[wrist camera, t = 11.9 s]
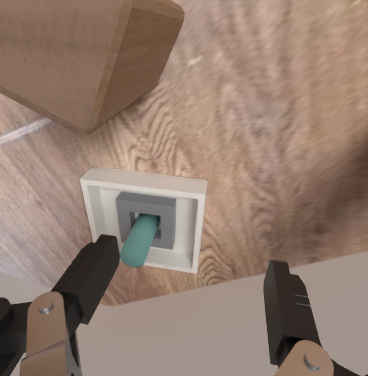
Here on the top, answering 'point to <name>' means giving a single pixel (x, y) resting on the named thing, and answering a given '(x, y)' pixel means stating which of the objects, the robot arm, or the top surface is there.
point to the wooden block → (84, 55)
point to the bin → (148, 212)
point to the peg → (139, 240)
